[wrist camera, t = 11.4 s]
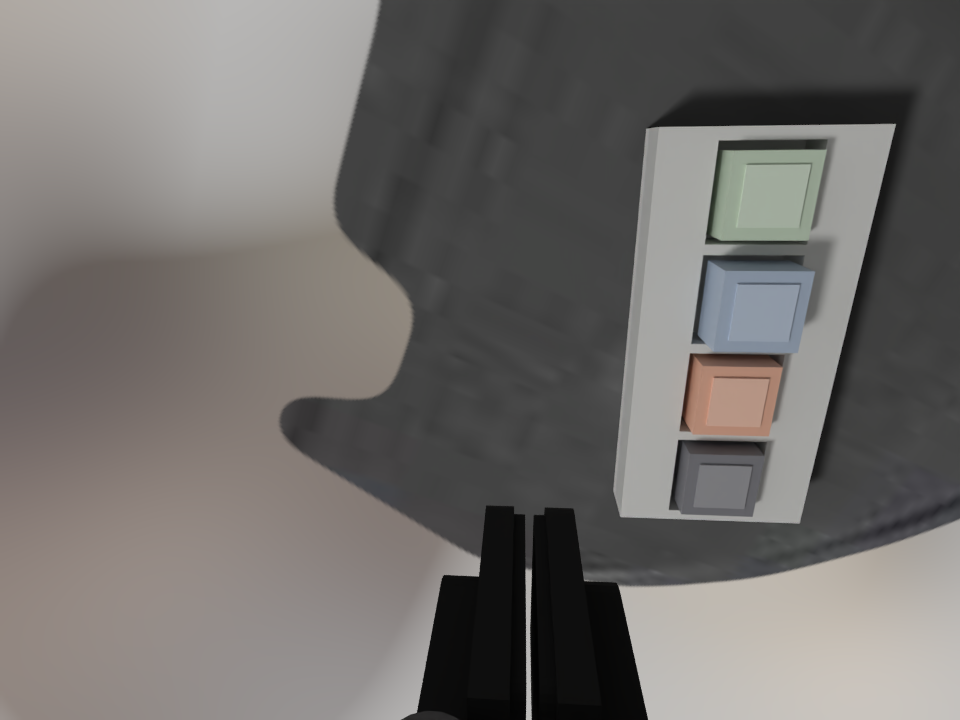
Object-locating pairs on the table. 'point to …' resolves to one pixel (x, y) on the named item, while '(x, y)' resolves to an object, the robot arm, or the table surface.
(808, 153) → the key sage
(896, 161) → the table surface
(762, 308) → the key slate
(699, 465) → the key charcoal
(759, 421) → the key terracotta
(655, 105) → the table surface
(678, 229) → the keypad
